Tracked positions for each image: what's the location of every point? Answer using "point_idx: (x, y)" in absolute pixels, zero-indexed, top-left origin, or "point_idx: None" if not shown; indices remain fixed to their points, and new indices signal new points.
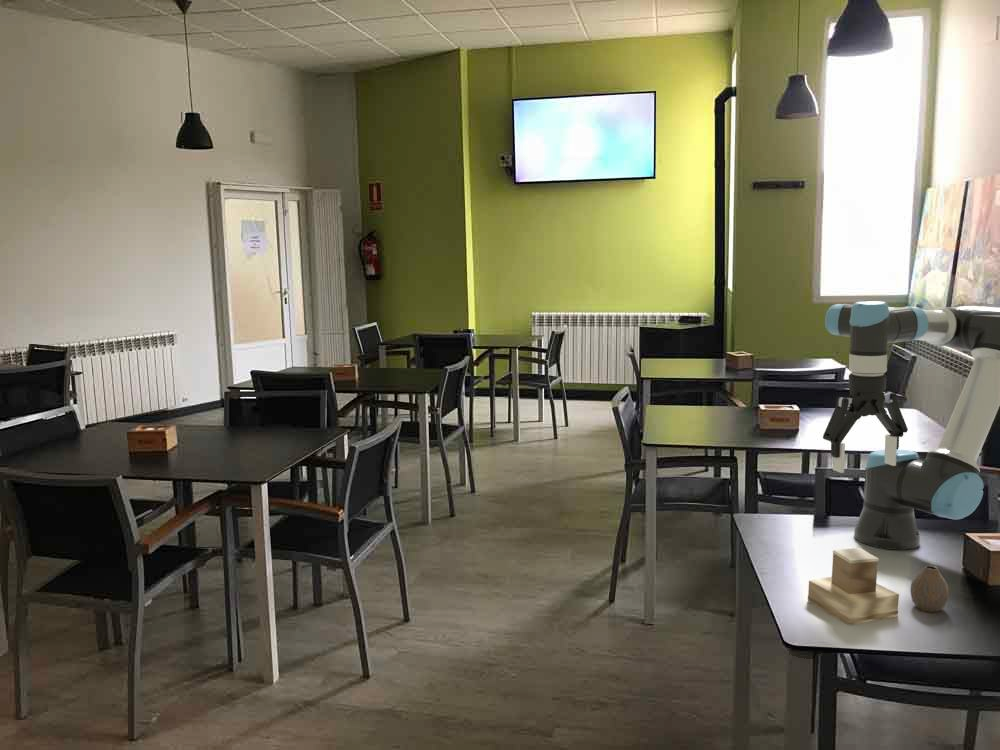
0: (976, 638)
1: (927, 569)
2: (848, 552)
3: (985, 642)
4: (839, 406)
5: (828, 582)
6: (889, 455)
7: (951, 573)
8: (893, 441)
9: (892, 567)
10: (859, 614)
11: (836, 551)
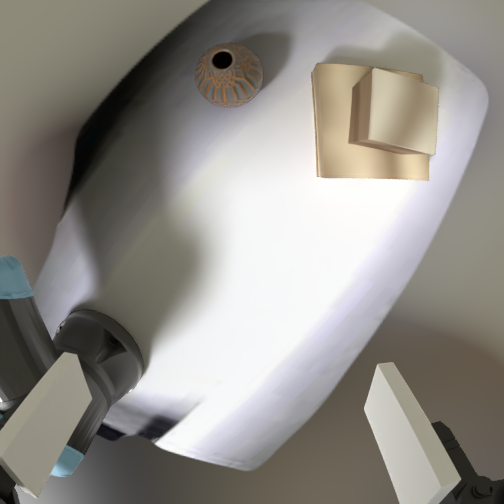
0: None
1: (236, 57)
2: (415, 125)
3: None
4: None
5: (405, 157)
6: (65, 403)
7: (85, 205)
8: (16, 441)
9: (158, 257)
10: None
11: (434, 143)
